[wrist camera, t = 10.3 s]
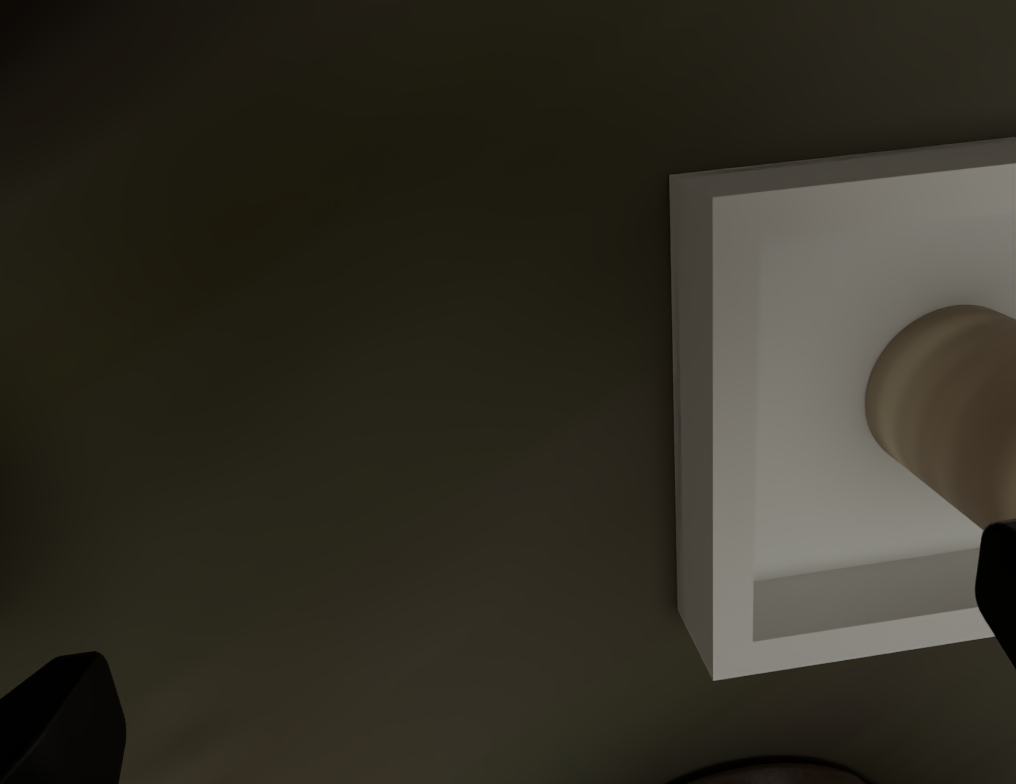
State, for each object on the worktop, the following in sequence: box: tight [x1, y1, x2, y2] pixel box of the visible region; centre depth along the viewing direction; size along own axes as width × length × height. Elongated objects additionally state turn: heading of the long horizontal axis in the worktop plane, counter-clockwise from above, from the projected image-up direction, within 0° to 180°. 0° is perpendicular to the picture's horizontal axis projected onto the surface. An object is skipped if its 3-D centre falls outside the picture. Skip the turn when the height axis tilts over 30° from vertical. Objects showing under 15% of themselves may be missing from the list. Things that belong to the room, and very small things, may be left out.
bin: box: [669, 137, 1016, 681], centre depth 22 cm, size 14×12×3 cm
